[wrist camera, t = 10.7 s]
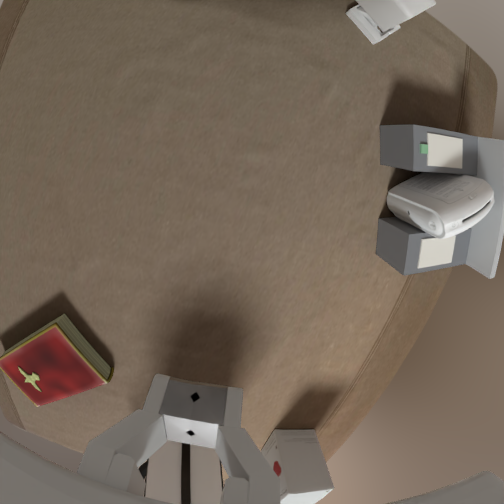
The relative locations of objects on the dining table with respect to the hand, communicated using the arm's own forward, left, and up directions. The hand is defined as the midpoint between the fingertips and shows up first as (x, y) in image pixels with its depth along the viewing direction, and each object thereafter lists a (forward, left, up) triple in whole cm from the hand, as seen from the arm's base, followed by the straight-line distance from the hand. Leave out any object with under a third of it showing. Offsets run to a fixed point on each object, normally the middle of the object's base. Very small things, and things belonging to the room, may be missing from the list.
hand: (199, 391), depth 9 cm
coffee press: (+39, -11, -26) cm, 48 cm away
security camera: (-26, +21, -26) cm, 42 cm away
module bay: (-2, +27, -25) cm, 37 cm away
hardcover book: (+20, -30, -26) cm, 44 cm away
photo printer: (-2, +27, -26) cm, 37 cm away
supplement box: (+46, +9, -26) cm, 54 cm away
